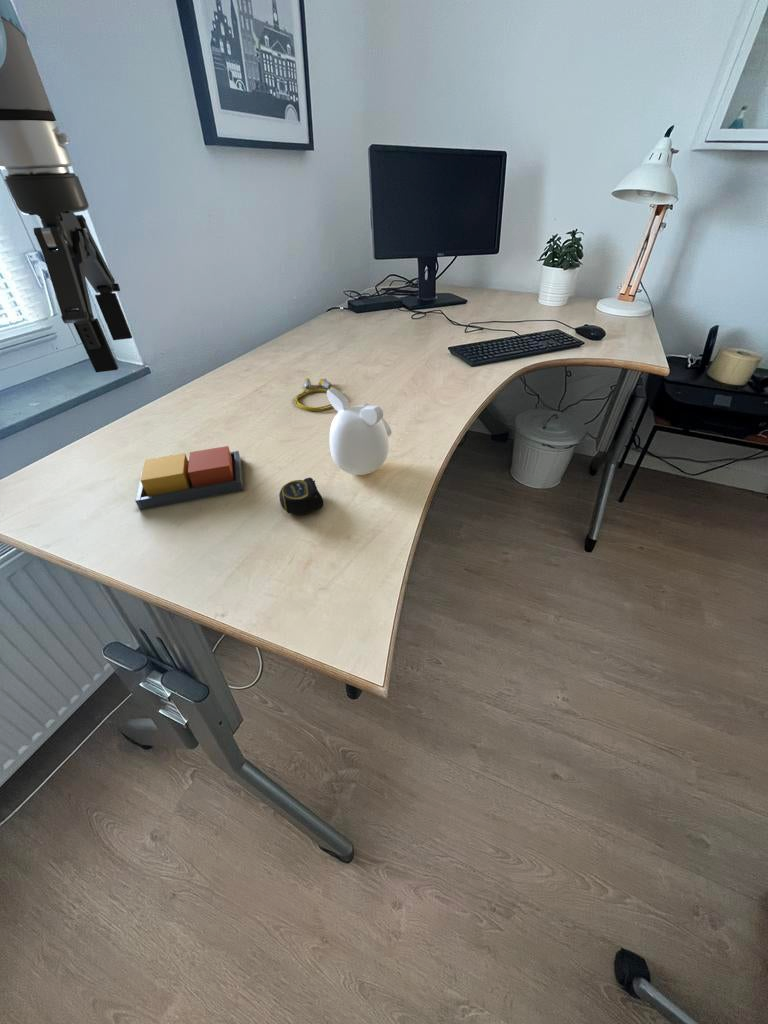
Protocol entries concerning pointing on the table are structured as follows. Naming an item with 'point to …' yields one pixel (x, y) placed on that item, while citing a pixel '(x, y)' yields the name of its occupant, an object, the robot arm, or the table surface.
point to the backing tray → (193, 490)
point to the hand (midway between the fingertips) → (115, 353)
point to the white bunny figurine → (357, 436)
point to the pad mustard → (165, 474)
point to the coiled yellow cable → (307, 386)
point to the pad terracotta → (210, 467)
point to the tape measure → (300, 497)
